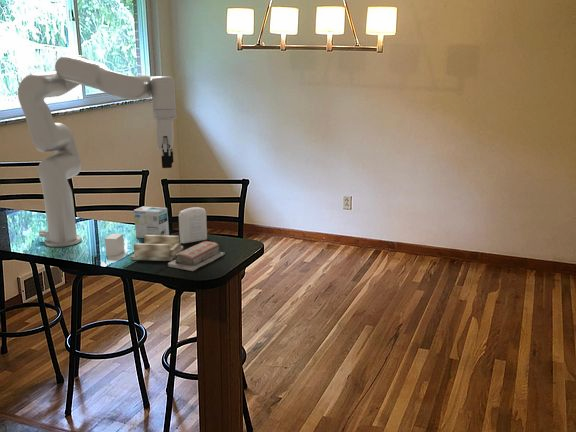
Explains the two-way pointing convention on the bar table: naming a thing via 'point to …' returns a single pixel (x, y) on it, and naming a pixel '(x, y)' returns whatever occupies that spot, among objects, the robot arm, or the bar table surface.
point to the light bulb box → (151, 221)
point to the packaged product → (196, 256)
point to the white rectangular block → (114, 244)
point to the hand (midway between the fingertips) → (167, 165)
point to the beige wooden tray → (157, 248)
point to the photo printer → (192, 225)
